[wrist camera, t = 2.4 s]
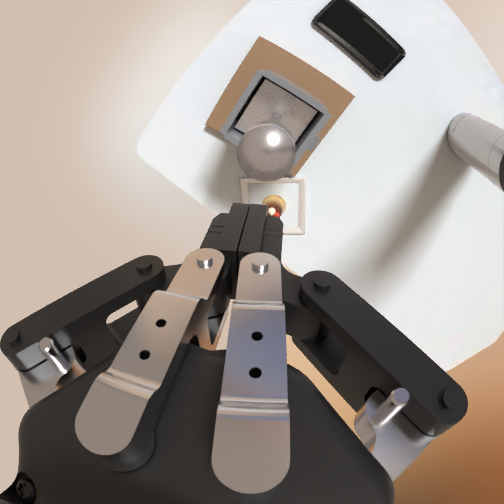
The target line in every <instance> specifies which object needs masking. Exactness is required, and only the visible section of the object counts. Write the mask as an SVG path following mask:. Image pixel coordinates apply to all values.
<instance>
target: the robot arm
mask: <svg viewBox="0 0 504 504" xmlns="http://www.w3.org/2000/svg"><path fill="white" fill-rule="evenodd" d="M448 142H449V145H450V147H451V149H452V151H453V152H454V153H455V154H456V155H457V156H459V157H460V158H461V159H463V160H464V161H465V162H467V163H468V164H469V165H471V166H472V167H473V168H475V169H476V170H477V171H479V172H480V173H481V174H482V175H484V176H485V177H486V178H487V179H488V180H490V181H491V182H492V183H493V184H495V185H496V186H497V187H498V188H499V189H500V190H502V191H503V192H504V129H502V128H500V127H498V126H496V125H493V124H491V123H489V122H487V121H485V120H483V119H481V118H478V117H476V116H474V115H471V114H468V113H462V114H459V115H458V116H456V117H455V118H454V119H453V120H452V122H451V123H450V126H449V129H448ZM267 215H268V205H260V204H251V206H250V204H243V203H233V205H232V207H231V210H230V212H229V214H227V213H220V214H219V215H218V216H216V217H215V218H214V219H213V220H212V223H211V225H210V227H209V229H208V232H207V233H206V236H205V238H204V240H203V242H202V244H201V247H200V249H198V250H195V251H193V252H191V253H190V254H189V255H188V256H187V257H186V259H185V260H184V262H183V263H182V264H179V265H171V266H164V265H163V261H162V260H161V259H160V258H159V257H157V256H153V255H145V256H141V257H138V258H136V259H134V260H132V261H130V262H128V263H126V264H124V265H122V266H120V267H118V268H116V269H114V270H112V271H110V272H108V273H107V274H104V275H103V276H101V277H99V278H97V279H95V280H93V281H91V282H89V283H88V284H86V285H84V286H82V287H80V288H78V289H76V290H74V291H73V292H71V293H69V294H67V295H65V296H63V297H62V298H60V299H58V300H56V301H54V302H53V303H51V304H49V305H47V306H45V307H44V308H42V309H40V310H38V311H37V312H35V313H33V314H31V315H30V316H28V317H26V318H24V319H23V320H21V321H19V322H18V323H16V324H14V325H13V326H11V327H9V328H8V329H7V330H6V331H5V333H4V334H3V336H2V338H1V342H0V348H1V351H2V352H3V354H4V355H5V356H6V357H7V358H8V359H9V360H10V362H11V363H12V364H13V366H14V367H15V368H16V370H17V371H18V372H19V375H20V379H21V382H22V386H23V389H24V392H25V395H26V398H27V401H28V405H29V407H30V409H29V410H28V411H27V412H26V413H25V415H24V417H23V418H22V421H21V423H20V427H19V434H18V435H19V466H18V473H17V476H16V479H15V481H14V482H13V484H12V485H11V486H10V487H9V488H8V489H6V490H5V491H4V492H3V493H1V494H0V504H394V496H395V492H394V486H393V481H394V480H395V479H396V478H397V477H398V476H399V475H400V474H401V473H402V472H403V471H404V470H405V469H406V468H407V467H408V466H409V465H410V464H411V463H412V462H413V461H414V460H415V459H416V458H417V457H418V455H419V454H420V453H421V452H422V451H423V450H424V449H425V448H426V447H427V445H428V444H429V443H430V442H431V441H432V440H434V439H435V438H437V437H438V436H440V435H441V434H442V433H444V432H445V431H447V430H448V429H450V428H451V427H452V426H454V425H455V424H456V423H458V422H459V421H460V420H461V419H462V418H463V417H464V416H465V414H466V412H467V407H468V401H467V396H466V394H465V392H464V390H463V389H462V388H461V386H460V385H458V384H457V383H456V382H455V381H454V380H453V379H452V378H451V377H450V376H449V375H448V374H447V373H446V372H445V371H444V370H443V369H441V368H440V367H439V366H438V365H437V364H436V363H435V362H434V361H433V360H432V359H431V358H429V357H428V356H427V355H426V354H425V353H424V352H423V351H422V350H421V349H420V348H418V347H417V346H416V345H415V344H414V343H413V342H412V341H411V340H410V339H408V338H407V337H406V336H405V335H404V334H403V333H402V332H401V331H399V330H398V329H397V328H396V327H395V326H394V325H393V324H391V323H390V322H389V321H388V320H387V319H386V318H385V317H383V316H382V315H381V314H380V313H379V312H378V311H377V310H375V309H374V308H373V307H372V306H371V305H370V304H368V303H367V302H366V301H365V300H364V299H363V298H361V297H360V296H359V295H358V294H357V293H356V292H354V291H353V290H352V289H351V288H350V287H348V286H347V285H346V284H345V283H344V282H343V281H341V280H340V279H339V278H338V277H336V276H335V275H334V274H332V273H329V272H326V271H311V272H308V273H307V274H305V275H304V276H303V277H300V276H297V275H294V274H292V273H290V272H288V271H287V270H286V269H285V268H284V267H283V265H282V263H281V251H282V236H283V222H282V221H281V219H280V218H279V217H272V216H267ZM230 299H235V302H233V304H232V311H231V318H230V327H229V334H228V343H227V349H226V350H216V347H217V344H218V341H219V338H220V336H221V333H222V330H223V326H224V324H225V321H226V318H227V315H228V305H229V302H230ZM134 300H136V302H137V305H138V308H136V309H135V310H133V311H131V312H129V313H127V314H126V315H124V316H122V317H121V318H119V319H117V320H115V321H114V322H112V323H109V324H106V320H107V318H108V316H109V315H110V314H112V313H113V312H115V311H116V310H119V309H120V308H122V307H124V306H126V305H127V304H129V303H131V302H133V301H134ZM286 334H288V335H290V336H292V340H293V342H294V344H295V345H296V346H297V347H298V348H299V350H300V351H301V352H302V353H303V354H304V355H305V356H306V357H307V359H308V360H309V361H310V362H311V363H312V364H313V365H314V366H315V367H316V368H317V370H318V371H319V372H320V373H321V374H322V375H323V376H324V377H325V379H326V380H327V381H328V382H329V383H330V384H331V385H332V386H333V387H334V388H335V390H336V391H337V392H338V393H339V394H340V395H341V396H342V397H343V398H344V399H345V401H346V402H347V403H348V404H349V405H350V406H351V407H352V408H353V409H354V410H355V411H356V412H357V414H356V416H355V420H354V426H355V430H356V433H357V434H358V436H359V437H360V439H361V441H362V442H361V441H360V440H359V438H358V437H357V436H356V435H355V434H354V432H353V431H352V430H351V429H350V428H349V426H348V425H347V424H346V423H345V422H344V420H343V419H342V418H341V417H340V416H339V414H338V413H337V412H336V411H335V410H334V408H333V407H332V406H331V405H330V403H329V402H328V401H327V400H326V399H325V397H324V396H323V395H322V394H321V393H320V391H319V390H318V389H317V388H316V386H315V385H314V384H313V383H312V381H310V379H309V378H308V377H307V376H306V375H304V374H303V373H302V372H300V371H299V370H298V369H296V368H294V367H292V366H291V365H289V364H287V353H286Z"/></svg>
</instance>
